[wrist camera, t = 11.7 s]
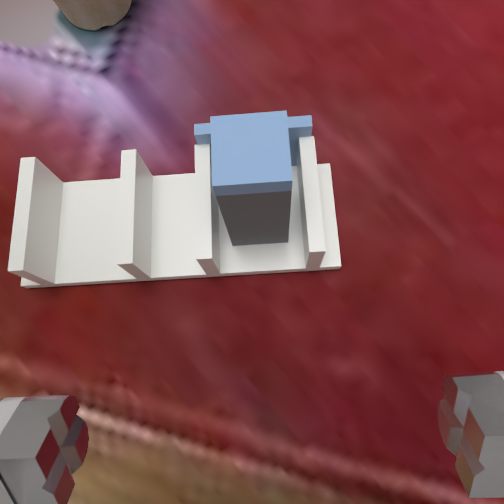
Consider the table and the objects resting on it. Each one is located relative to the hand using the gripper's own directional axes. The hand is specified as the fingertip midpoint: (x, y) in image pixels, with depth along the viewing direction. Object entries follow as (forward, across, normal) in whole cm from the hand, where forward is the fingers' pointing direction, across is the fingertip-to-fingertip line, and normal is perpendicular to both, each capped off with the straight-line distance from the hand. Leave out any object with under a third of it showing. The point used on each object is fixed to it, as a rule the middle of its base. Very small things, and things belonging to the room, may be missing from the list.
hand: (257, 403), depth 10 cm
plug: (+22, 0, +5) cm, 23 cm away
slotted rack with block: (+23, +6, +6) cm, 24 cm away
